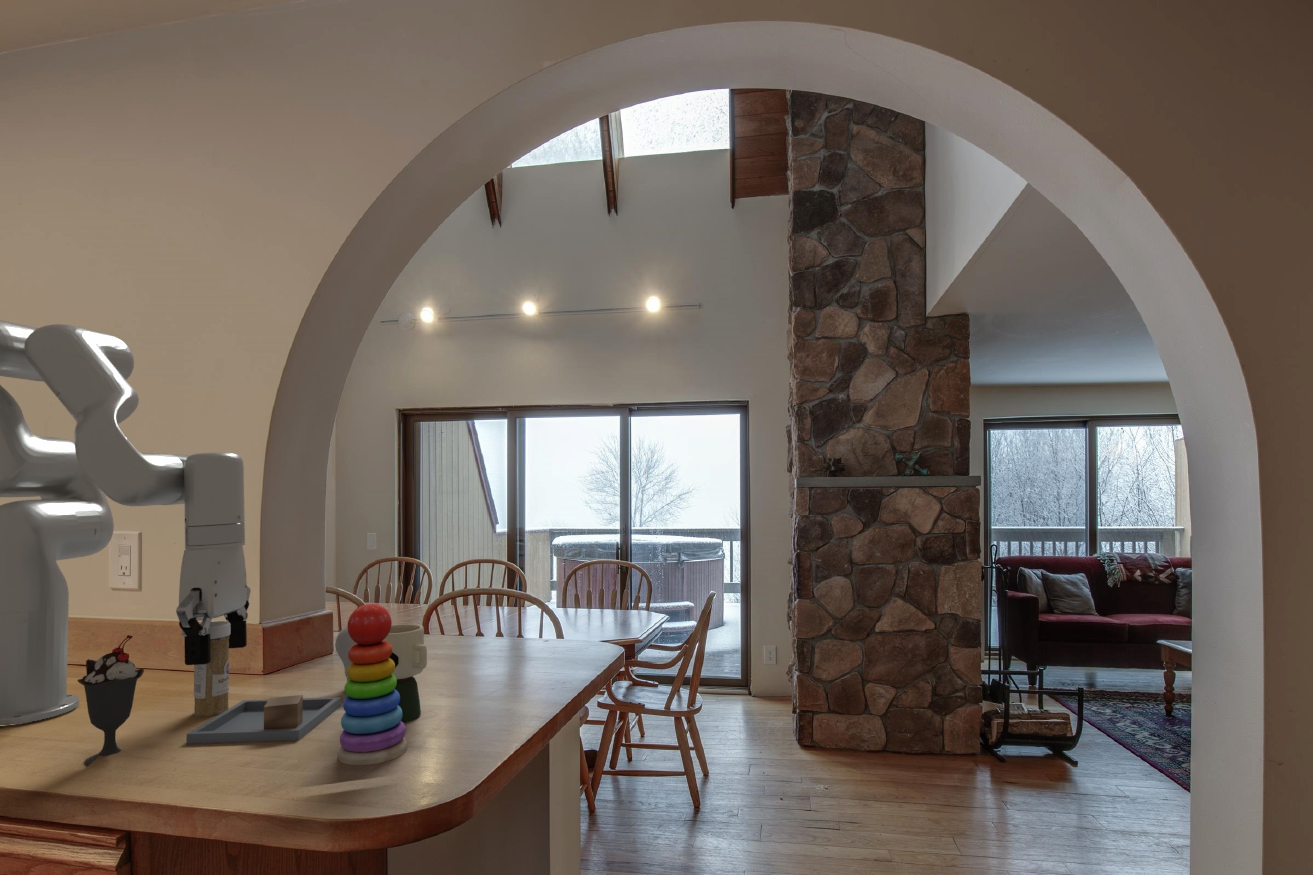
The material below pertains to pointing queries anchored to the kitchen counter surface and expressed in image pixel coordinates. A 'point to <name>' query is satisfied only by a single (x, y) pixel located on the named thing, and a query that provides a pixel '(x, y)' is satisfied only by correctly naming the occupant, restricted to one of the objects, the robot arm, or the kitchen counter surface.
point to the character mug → (408, 665)
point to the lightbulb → (344, 648)
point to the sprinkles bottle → (213, 674)
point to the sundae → (110, 695)
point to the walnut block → (283, 712)
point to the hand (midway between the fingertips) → (217, 655)
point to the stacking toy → (371, 693)
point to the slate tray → (259, 723)
